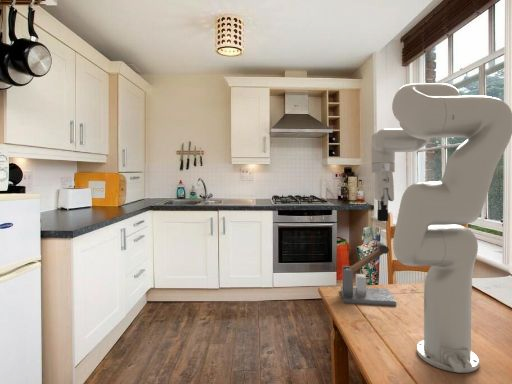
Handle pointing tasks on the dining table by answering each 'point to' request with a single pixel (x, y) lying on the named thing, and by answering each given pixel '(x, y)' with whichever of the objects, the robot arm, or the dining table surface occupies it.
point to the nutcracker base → (370, 292)
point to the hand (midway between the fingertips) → (382, 220)
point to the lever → (370, 257)
